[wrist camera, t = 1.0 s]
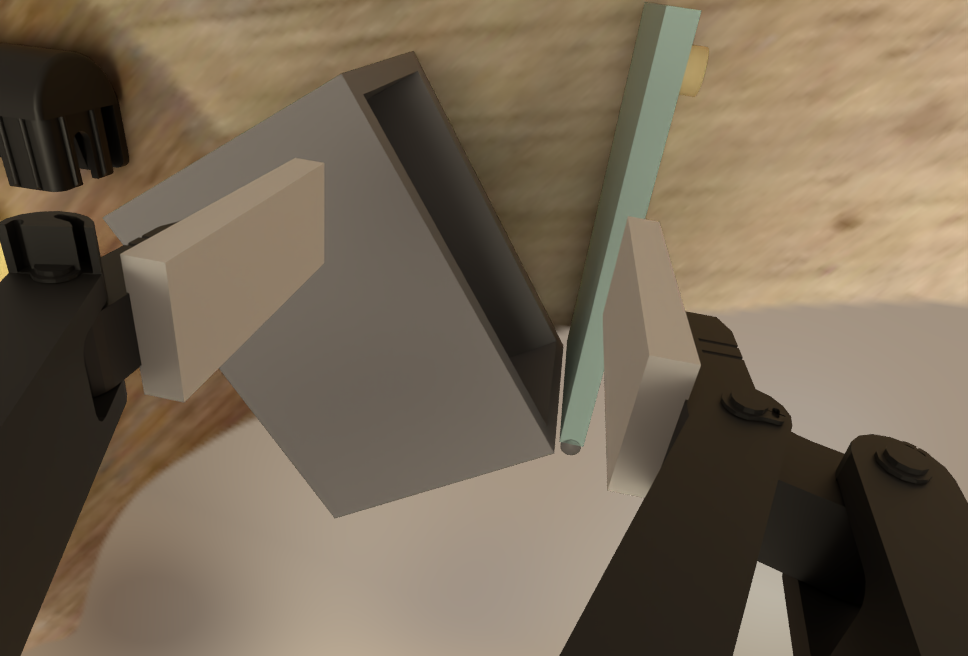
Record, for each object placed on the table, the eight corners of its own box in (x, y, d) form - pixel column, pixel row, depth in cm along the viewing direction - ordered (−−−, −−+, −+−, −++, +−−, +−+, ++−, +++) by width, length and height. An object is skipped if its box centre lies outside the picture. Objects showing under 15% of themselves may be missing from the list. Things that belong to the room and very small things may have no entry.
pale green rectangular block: (565, 349, 40) (557, 452, 31) (645, 2, 30) (666, 5, 21) (604, 357, 40) (607, 463, 31) (697, 10, 30) (742, 16, 21)
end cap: (116, 46, 36) (24, 57, 30) (138, 167, 40) (59, 197, 34) (-38, 27, 37) (-158, 34, 31) (-4, 147, 40) (-105, 173, 35)
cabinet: (389, 408, 46) (334, 518, 36) (224, 162, 38) (102, 217, 29) (563, 345, 41) (554, 453, 31) (412, 51, 34) (341, 73, 24)
